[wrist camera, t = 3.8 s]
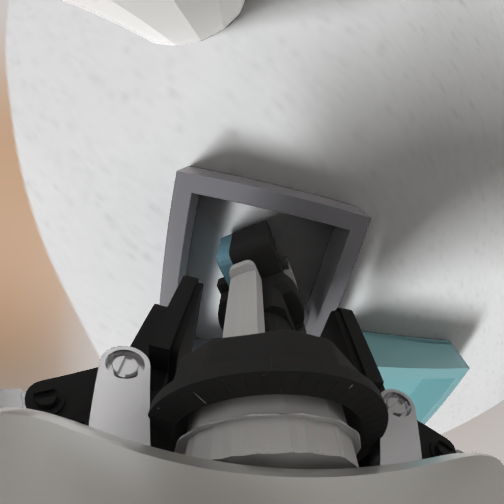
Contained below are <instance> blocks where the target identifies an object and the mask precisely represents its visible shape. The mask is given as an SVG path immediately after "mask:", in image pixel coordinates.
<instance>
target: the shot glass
mask: <svg viewBox="0 0 504 504" xmlns="http://www.w3.org/2000/svg"><path fill="white" fill-rule="evenodd" d="M61 1H64V2H67V3H69V4H72V5H74V6H77V7H79V8H82V9H84V10H87V11H89V12H92V13H94V14H96V15H98V16H101V17H103V18H105V19H107V20H109V21H112V22H114V23H116V24H118V25H120V26H122V27H124V28H126V29H128V30H130V31H132V32H134V33H136V34H138V35H140V36H142V37H144V38H145V39H147V40H149V41H151V42H153V43H155V44H165V45H173V46H179V45H183V44H188V43H193V42H199V41H202V40H204V39H206V38H208V37H210V36H212V35H214V34H216V33H218V32H220V31H222V30H224V29H225V28H226V27H227V26H228V25H229V24H230V23H231V22H232V21H233V20H234V19H235V18H236V17H237V16H238V15H239V14H240V12H241V10H242V7H243V5H244V2H245V0H61Z"/></svg>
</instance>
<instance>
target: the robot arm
mask: <svg viewBox="0 0 504 504" xmlns="http://www.w3.org/2000/svg"><path fill="white" fill-rule="evenodd" d="M198 281H199V279H198V278H193V277H189V276H185V275H184V276H183V278H182V280H181V282H180V284H179V285H178V287H177V289H176V291H175V293H174V295H173V297H172V299H171V301H170V303H169V305H168V307H166V306H162V305H158V304H155V305H154V306H153V307H152V309H151V311H150V312H149V314H148V316H147V318H146V319H145V321H144V323H143V325H142V326H141V328H140V330H139V332H138V334H137V335H136V337H135V339H134V341H133V343H132V344H131V346H130V347H129V346H118V347H113V348H111V349H109V350H107V351H106V352H105V353H104V354H103V355H102V357H101V359H100V363H99V367H97V368H93V369H89V370H85V371H81V372H77V373H73V374H69V375H65V376H61V377H56V378H52V379H47V380H42V381H39V382H36V383H34V384H33V385H32V386H30V387H29V389H28V390H27V391H24V392H22V391H21V389H20V388H15V389H1V390H0V504H504V465H503V464H502V463H501V461H500V460H498V459H497V458H495V457H493V456H490V455H487V454H481V453H464V452H462V451H460V450H455V448H454V446H453V444H452V443H451V442H450V441H449V440H448V439H447V438H445V437H443V436H442V435H440V434H439V433H437V432H435V431H434V430H432V429H431V428H429V427H427V426H426V425H424V424H423V423H421V422H420V421H418V420H417V417H416V411H415V406H414V403H413V402H412V400H411V399H410V398H409V397H408V396H407V395H406V394H404V393H403V392H401V391H398V390H396V389H387V390H385V388H384V385H383V383H384V381H383V379H382V376H381V374H380V371H379V369H378V367H377V364H376V362H375V360H374V358H373V355H372V353H371V351H370V349H369V346H368V344H367V342H366V340H365V337H364V335H363V333H362V331H361V329H360V327H359V324H358V322H357V320H356V318H355V316H354V314H353V312H352V310H348V309H342V308H337V309H336V310H335V311H331V313H330V315H329V317H328V319H327V322H326V324H325V326H324V329H323V331H322V333H321V335H320V337H321V338H325V339H328V340H330V341H332V342H333V343H334V344H335V346H336V347H337V348H338V349H339V350H340V351H341V352H342V353H343V355H344V356H345V357H346V358H347V359H348V360H349V361H350V362H351V363H352V365H353V366H354V367H355V368H356V369H357V370H358V371H359V372H360V373H361V374H363V375H364V376H366V377H367V378H368V379H370V380H371V381H372V382H373V383H374V384H375V385H376V387H377V388H378V389H379V391H380V393H381V395H382V397H383V399H384V402H385V404H386V406H387V410H388V416H389V420H388V426H387V429H386V431H385V434H384V435H383V436H381V437H379V439H377V441H376V442H375V443H374V444H373V445H372V446H371V447H370V453H369V454H368V455H367V456H365V457H364V458H363V459H361V460H360V461H359V462H358V465H359V467H358V468H341V469H288V468H271V467H259V466H250V465H241V464H233V463H226V462H220V461H214V460H208V459H203V458H198V457H193V456H188V455H183V454H179V453H175V452H171V451H167V450H163V449H159V448H155V447H152V446H151V430H150V415H148V412H149V409H150V405H151V403H152V401H153V399H154V398H155V396H156V395H157V393H158V392H159V391H160V390H161V389H162V388H163V387H165V386H166V385H167V384H169V383H170V382H171V381H173V380H174V377H175V374H176V370H177V367H178V363H179V361H180V360H181V359H182V358H183V357H185V356H186V355H188V354H189V353H191V352H192V348H193V344H194V339H195V333H196V327H197V320H198V314H199V308H200V302H201V296H202V290H203V284H202V283H198Z"/></svg>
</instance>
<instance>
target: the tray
mask: <svg viewBox="0 0 504 504" xmlns="http://www.w3.org/2000/svg"><path fill="white" fill-rule="evenodd" d="M362 333H363V335H364V337H365V340H366V342H367V344H368V346H369V349H370V351H371V353H372V355H373V358H374V360H375V362H376V364H377V367H378V369H379V371H380V374H381V376H382V379H383V381H384V383H383V385H384V388H385V390H387V389H396V390H398V391H401V392H403V393H404V394H406V395H407V396H408V397H409V398H410V399H411V400H412V402H413V403H414V406H415V411H416V417H417V420H418V421H420V422H421V423H423V424H425V423H426V422H427V421H428V420H429V419H430V418H431V416H432V415H433V414H434V413H435V412H436V411H437V410H438V408H439V407H440V406H441V405H442V404H443V402H444V401H445V400H446V399H447V398H448V396H449V395H450V394H451V393H452V391H453V390H454V389H455V387H456V386H457V385H458V383H459V382H460V381H461V379H462V378H463V377H464V375H465V374H466V372H467V371H468V370H469V366H468V365H467V364H466V362H465V361H464V360H463V358H462V357H461V355H460V354H459V353H458V351H457V350H456V349H455V347H454V346H453V345H452V344H451V342H450V341H448V340H436V339H425V338H415V337H406V336H397V335H388V334H380V333H372V332H364V331H362Z"/></svg>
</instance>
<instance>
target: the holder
mask: <svg viewBox="0 0 504 504" xmlns="http://www.w3.org/2000/svg"><path fill="white" fill-rule="evenodd" d="M199 194H200V195H204V196H209V197H214V198H219V199H223V200H228V201H233V202H237V203H242V204H246V205H251V206H255V207H259V208H264V209H268V210H272V211H277V212H281V213H285V214H289V215H293V216H297V217H301V218H305V219H309V220H313V221H317V222H321V223H325V224H329V225H333V226H334V228H333V231H332V234H331V237H330V240H329V243H328V246H327V249H326V252H325V255H324V258H323V261H322V264H321V267H320V270H319V273H318V276H317V279H316V281H315V284H314V287H313V290H312V292H311V295H310V298H309V301H308V303H307V306H306V309H305V311H304V315H305V316H304V325H305V329H306V333H307V334H310V335H314V336H317V337H320V335H321V333H322V331H323V329H324V326H325V324H326V322H327V319H328V317H329V315H330V313H331V311H335V310H336V309H337V307H338V305H339V302H340V300H341V298H342V295H343V293H344V290H345V288H346V285H347V283H348V280H349V278H350V275H351V273H352V270H353V267H354V265H355V262H356V259H357V257H358V254H359V251H360V248H361V246H362V243H363V240H364V237H365V234H366V231H367V228H368V225H369V223H370V219H371V217H369V216H368V215H367V214H365V213H364V212H362V211H361V210H360V209H358V208H357V207H356V206H353V205H349V204H346V203H343V202H339V201H336V200H332V199H328V198H325V197H321V196H318V195H314V194H310V193H306V192H303V191H299V190H295V189H291V188H287V187H283V186H279V185H275V184H270V183H266V182H262V181H258V180H253V179H249V178H244V177H240V176H235V175H231V174H226V173H221V172H216V171H211V170H206V169H201V168H196V167H191V166H188V167H185V168H183V169H181V170H178V171H177V173H176V178H175V184H174V190H173V196H172V203H171V209H170V216H169V223H168V230H167V238H166V246H165V255H164V264H163V273H162V284H161V295H160V305H162V306H166V307H168V305H169V303H170V301H171V299H172V297H173V295H174V293H175V291H176V289H177V287H178V285H179V284H180V282H181V280H182V278H183V276H184V275H185V276H186V271H187V265H188V258H189V251H190V245H191V239H192V233H193V227H194V221H195V215H196V210H197V204H198V199H199ZM206 342H208V340H204V339H199V338H195V339H194V344H193V348H192V351H194V350H195V349H197V348H198V347H200V346H202V345H203V344H205V343H206Z"/></svg>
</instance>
